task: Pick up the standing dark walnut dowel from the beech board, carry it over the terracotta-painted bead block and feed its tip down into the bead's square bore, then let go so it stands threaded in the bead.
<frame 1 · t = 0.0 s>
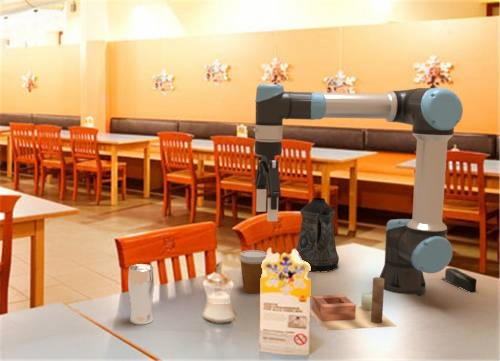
hand: (266, 216, 174), 28 cm above the table, tool pointing down, fingers open, 13 cm apart
disposable coffee cup: (253, 290, 197), on the table
board: (350, 320, 173), on the table
loose bead: (368, 308, 180), point 1 cm above the table, touching board
beer glass: (141, 321, 169), on the table
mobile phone: (457, 286, 207), on the table
beer stein: (318, 267, 226), on the table
brown wooden cylinder: (376, 321, 170), point 1 cm above the table, touching board
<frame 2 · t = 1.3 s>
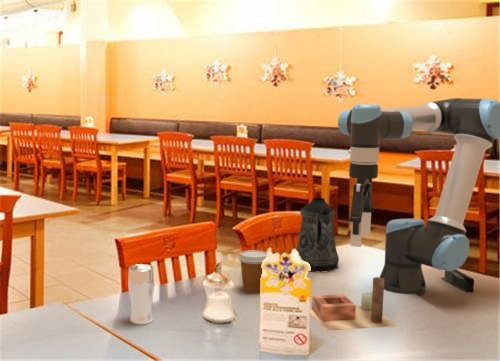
hand: (360, 240, 168), 23 cm above the table, tool pointing down, fingers open, 13 cm apart
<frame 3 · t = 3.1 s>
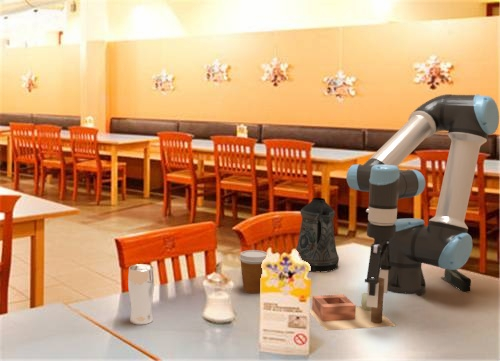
hand: (377, 299, 169), 7 cm above the table, tool pointing down, fingers open, 13 cm apart
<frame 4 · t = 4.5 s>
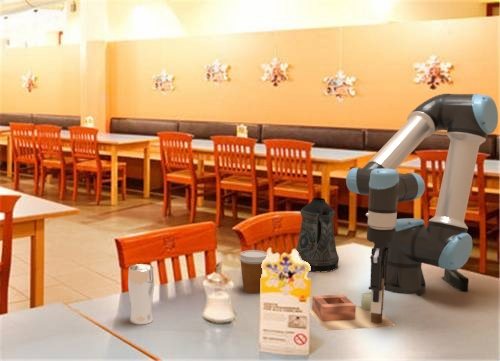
hand: (376, 310, 170), 4 cm above the table, tool pointing down, fingers closed on brown wooden cylinder, 3 cm apart
brown wooden cylinder: (376, 321, 170), point 1 cm above the table, touching gripper
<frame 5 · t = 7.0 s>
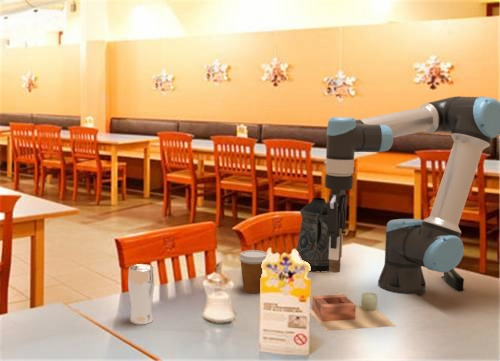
hand: (335, 257, 172), 17 cm above the table, tool pointing down, fingers closed on brown wooden cylinder, 2 cm apart
brown wooden cylinder: (334, 270, 173), point 14 cm above the table, touching gripper
when the fingers open (7 cm above the table, at t = 9.4 s): brown wooden cylinder drops 2 cm, resting on board.
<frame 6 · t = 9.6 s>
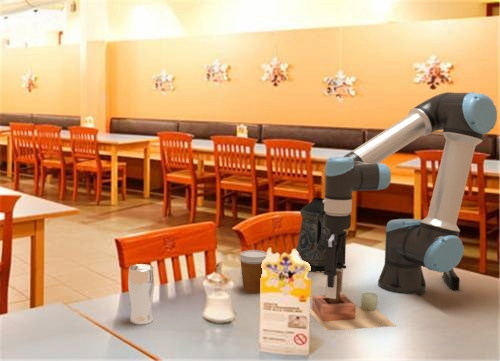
hand: (334, 294, 174), 7 cm above the table, tool pointing down, fingers open, 6 cm apart
brown wooden cylinder: (333, 313, 175), point 1 cm above the table, tilted 5°, touching board
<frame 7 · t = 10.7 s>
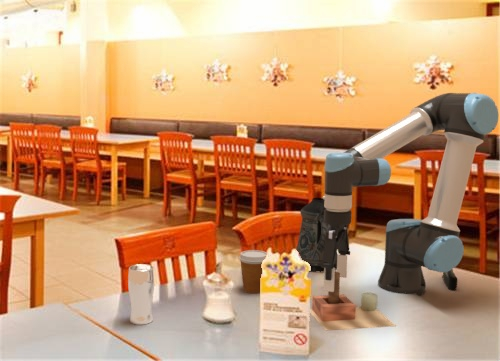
hand: (335, 283, 174), 10 cm above the table, tool pointing down, fingers open, 13 cm apart
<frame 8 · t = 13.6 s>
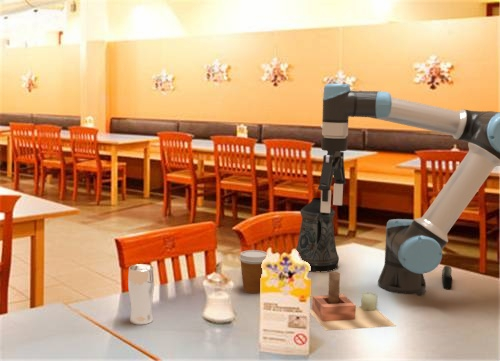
hand: (331, 208, 184), 29 cm above the table, tool pointing down, fingers open, 13 cm apart
at the end: brown wooden cylinder 0.0 cm from the target spot on the board, point 1.0 cm above the board's base; brown wooden cylinder tilted 1°; the gripper is holding nothing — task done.
